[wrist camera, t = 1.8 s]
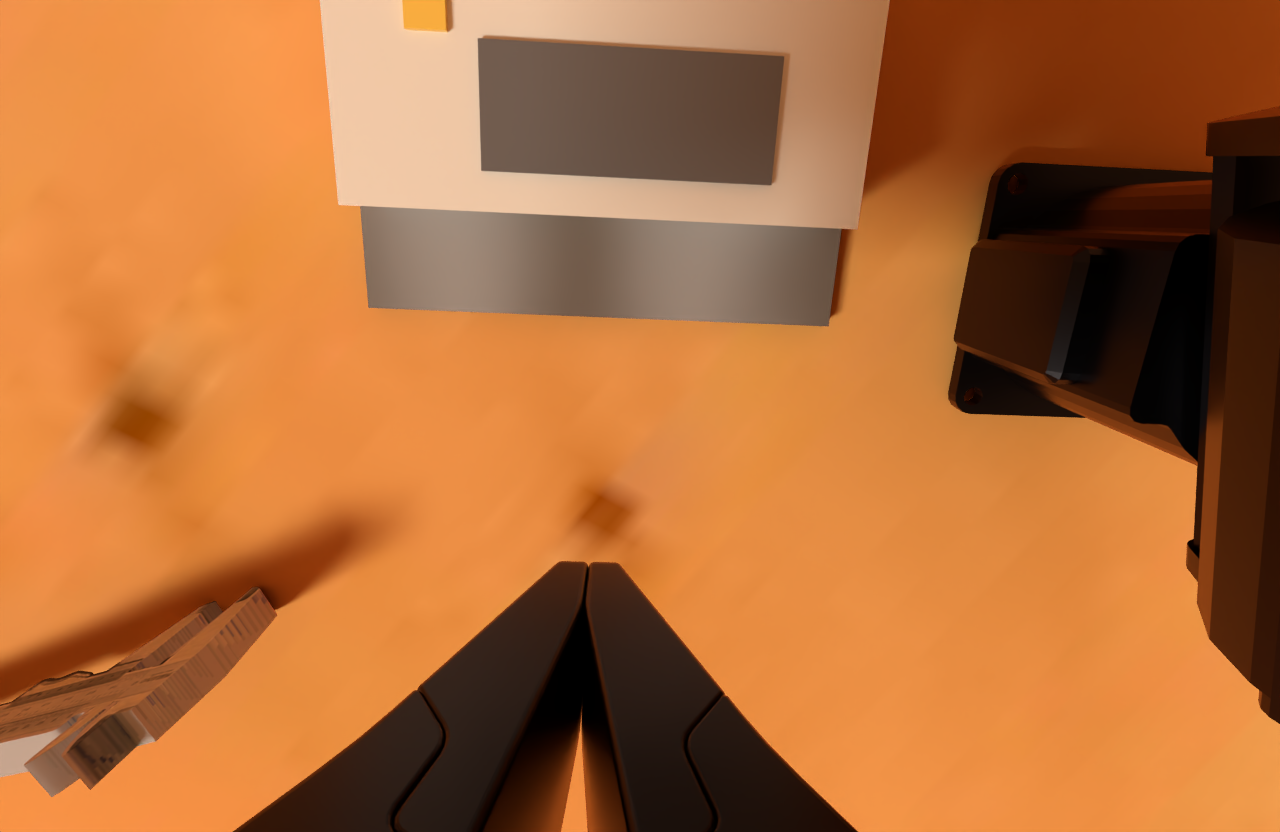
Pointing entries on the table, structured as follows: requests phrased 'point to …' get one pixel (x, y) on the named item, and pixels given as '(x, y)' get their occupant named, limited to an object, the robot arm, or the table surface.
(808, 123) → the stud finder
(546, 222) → the subfloor panel
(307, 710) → the table surface
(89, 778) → the caliper
